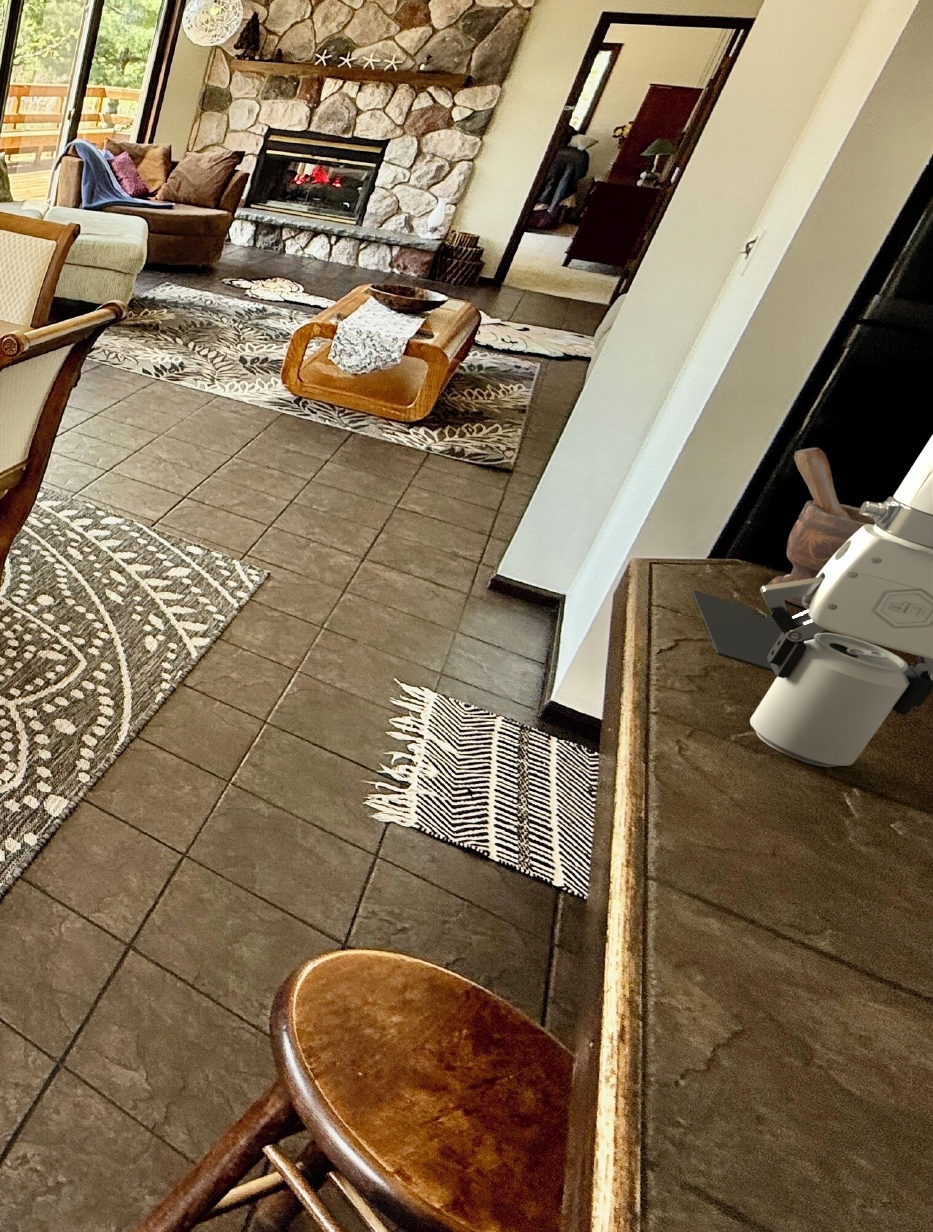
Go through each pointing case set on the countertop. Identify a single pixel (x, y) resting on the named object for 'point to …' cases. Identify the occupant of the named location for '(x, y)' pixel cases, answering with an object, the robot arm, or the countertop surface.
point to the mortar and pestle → (818, 521)
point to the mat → (738, 630)
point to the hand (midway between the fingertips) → (835, 688)
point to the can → (831, 700)
